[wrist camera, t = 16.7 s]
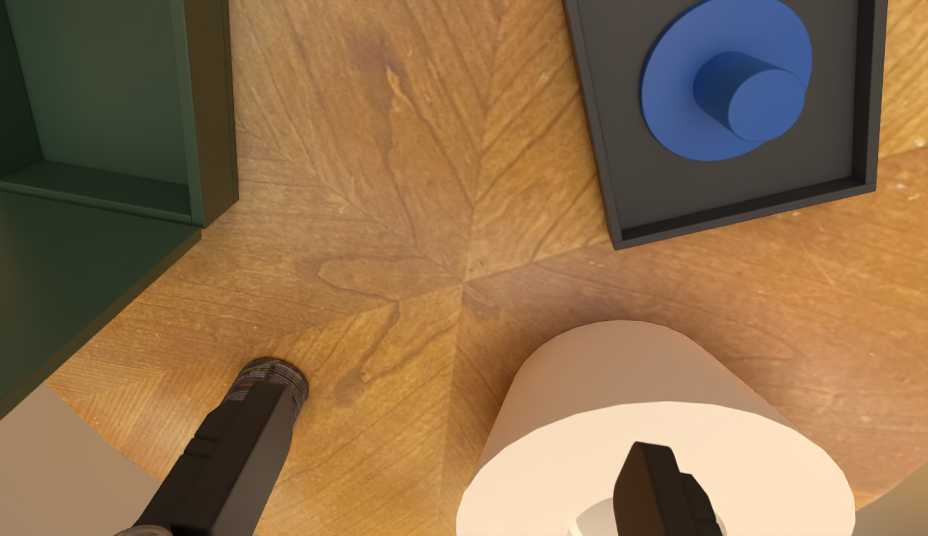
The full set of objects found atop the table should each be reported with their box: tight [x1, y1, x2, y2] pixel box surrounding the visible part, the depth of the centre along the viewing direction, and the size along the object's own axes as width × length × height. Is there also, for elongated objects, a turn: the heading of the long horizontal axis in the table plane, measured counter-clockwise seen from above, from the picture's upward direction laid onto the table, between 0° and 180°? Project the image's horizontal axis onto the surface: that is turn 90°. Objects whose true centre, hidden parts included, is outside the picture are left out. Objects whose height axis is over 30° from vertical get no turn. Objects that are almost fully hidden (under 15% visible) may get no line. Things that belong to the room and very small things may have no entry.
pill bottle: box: [220, 359, 308, 429], centre depth 40 cm, size 6×6×11 cm
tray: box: [562, 0, 888, 251], centre depth 30 cm, size 17×15×2 cm
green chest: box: [0, 0, 239, 229], centre depth 31 cm, size 16×14×5 cm
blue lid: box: [639, 0, 812, 161], centre depth 27 cm, size 9×9×6 cm
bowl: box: [456, 320, 855, 536], centre depth 39 cm, size 24×24×12 cm
